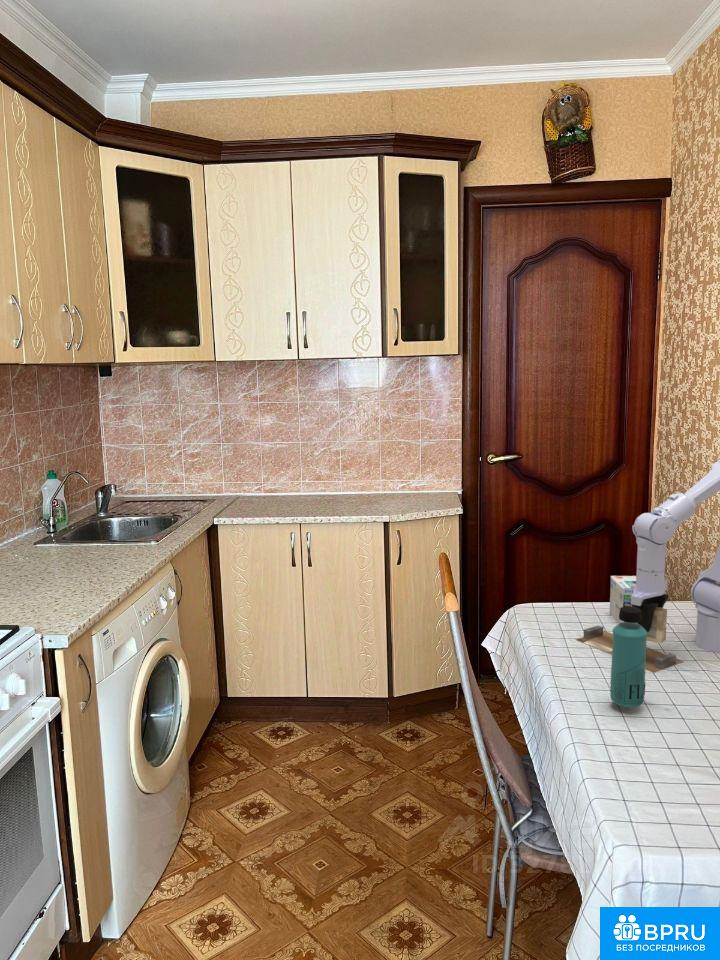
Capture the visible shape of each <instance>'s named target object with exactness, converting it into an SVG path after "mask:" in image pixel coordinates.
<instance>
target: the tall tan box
mask: <svg viewBox="0 0 720 960" xmlns="http://www.w3.org/2000/svg"><path fill="white" fill-rule="evenodd" d="M631 606H632V605H631ZM667 621H668V609H667V608H664V607H663V608H660V607H656V609H655V612H654V615H653V618H652V624H651V628H650V631H649V632H647V638H646V642H647V641H648V642H652V643H655V644H659V645H660V644H662V643H663V642H665V641H666V640H667ZM637 624H638V623H637Z"/></svg>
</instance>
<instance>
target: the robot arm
mask: <svg viewBox="0 0 720 960" xmlns="http://www.w3.org/2000/svg"><path fill="white" fill-rule="evenodd" d="M718 492H720V459H718V461H716V462H714V463H712V465H711V469H710V471H709V472H707V474H706V475H705V476H703V477H702V478H701V479H699V480H698V482H696V483H695V484H694V485H693V486H692V487H691V488H689V489H688V490H687V491H686V492H684V493H681V492H677V493H672V494H670V495H669V496H668V499H667V500H665V501H664V502H662V503H661V504H659V505H658V506H656V507H654V508H653V510H652V511H650V512H644V513H641V514H640V515H638V516H637V517H636V518H635V521H634V524H633V525H632V526H631V527H632V533H633V534H634V536H635V542H636V543H635V544H637V552H636V553H637V554H636V575H635V576H636V584H632V585H631V589H634V593H633V595H631V599H630V603H631V605H632V607H637V608H639V609H641V615H642V621H641V622H638V624H639V625H641V626H642V627H643V628H644V629H645V630H646V632H649V631H650V628H651V624H652V618H653V615H654V612H655V609H656V607H660V608H664V606H665V605H666V602H667V601H668V600H669V595H668V594H666V591H667V590H668V583H669V582H668V580H665V578H666V576H665V573H666V572H665V570H666V556H667V555H666V554H667V553H666V552H667V542H669V541H671V539H672V537H673V536H674V535H673V534H674V532H675V531H676V530H677V528H678V527H679V526H680V525H681V524H684V522H685V521H687V520H688V519H690V518H691V517H692V516H694V515H695V513H696V507H697V506H698V505H699V504H701V503H703V502H704V501H706V500H707V499H709V498H711V497H712V496H714V495H715V494H716V493H718ZM717 582H718V583H717ZM690 597H691V601H692V602H693V603H694V604H695V609H697V611H696V612H697V613H696V615H697V616H696V630H695V646H696V647H697V648H699V649H700V650H703V651H706V652H712V653H720V543H719V544H718V547H717V550H716V552H715V556H714V559H713V561H712V564H711V566H710V567H708V568H706V569H704V570H702V571H701V572H700V573H699V575H698V578H697V580H696V581H695V582H694V583H693V585H692V586H691V589H690Z"/></svg>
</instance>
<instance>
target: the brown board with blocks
mask: <svg viewBox="0 0 720 960" xmlns="http://www.w3.org/2000/svg"><path fill="white" fill-rule="evenodd" d="M575 640H576V641H577V642H580V643H582V644H585V645H587V646H589V647H592V648H594V649H596V650H599V651H602V652H604V653H606V654H608V655H611V656H612V645H613V632H612V633H611V632H609V631H606V630H604V627H603V626H601V625H595V626H591V627H589V628H584V629H583V637H579V638H576V639H575ZM646 650H647V654H646V659H647V661H646V662H647V663H646V666H645V670H646V671H650V672H651V673H654V674H655V673H657V672H661V671H663V670H665V669H669V668H671V667H675V666H677V665H680V664H682V663H685V661H684V660H681V659H678V658H677V654H674V653H672V652H670V653H666V654H665V653H663V652H660V651H657V650H655V649H653V648H650V647H647V646H646Z"/></svg>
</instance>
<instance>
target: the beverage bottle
mask: <svg viewBox="0 0 720 960" xmlns="http://www.w3.org/2000/svg"><path fill="white" fill-rule="evenodd" d="M619 619H620V620H622V621H624V622H622V623H620V624H619V623H618V624H616V625H615V626H614V627H613V628H612V634H613V645H612V655H611V664H610V665H611V666H610V667H611V668H610V675H609V676H610V677H609V678H610V679H609V680H610V681H609V682H610V690H609V695H610V699H611V702H613V703H615V704H617V705H619V706H621V707H626V708H627V707H628V708H635V707H640V706H642V705H643V704H644V701H645V695H646V673H647V672H646V669H645V666H646V663H647V662H646V661H647V659H646V654H647V650H646V647H647V640H646V638H647V632H646V630H645V629H644V628H643V627H642V626H641V625H639V624H637V623H638V622H641V621H642V615H641V609H639V608H637V607H632V606H625V607H621V608H620V613H619Z"/></svg>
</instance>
